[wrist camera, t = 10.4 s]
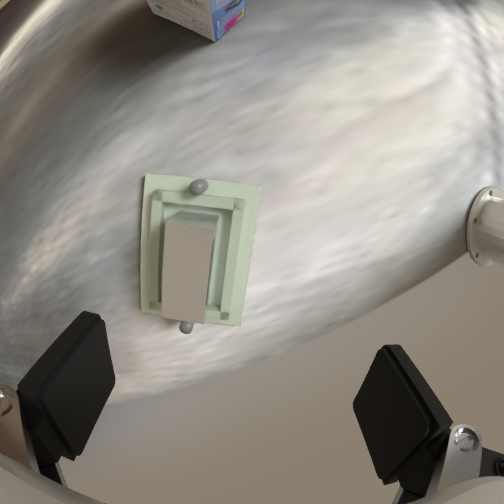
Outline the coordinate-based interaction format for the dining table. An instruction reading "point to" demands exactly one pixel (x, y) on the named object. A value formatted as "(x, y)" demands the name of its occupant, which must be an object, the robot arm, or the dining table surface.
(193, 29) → the ink cartridge box
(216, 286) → the tray
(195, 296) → the block
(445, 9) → the dining table surface
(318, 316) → the dining table surface
